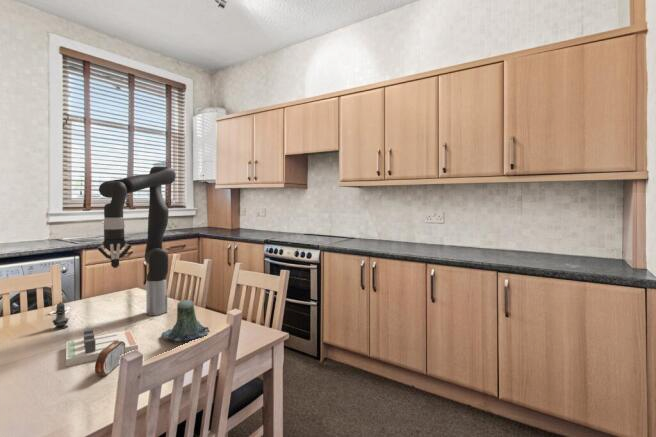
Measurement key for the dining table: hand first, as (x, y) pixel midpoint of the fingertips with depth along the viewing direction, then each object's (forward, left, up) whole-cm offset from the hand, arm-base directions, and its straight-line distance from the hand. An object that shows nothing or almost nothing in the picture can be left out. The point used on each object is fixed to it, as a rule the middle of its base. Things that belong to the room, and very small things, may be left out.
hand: (115, 267), depth 150 cm
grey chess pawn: (+19, -18, -29) cm, 39 cm away
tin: (+5, +37, -29) cm, 47 cm away
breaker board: (+6, +18, -29) cm, 34 cm away
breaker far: (+10, +12, -26) cm, 30 cm away
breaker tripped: (+10, +18, -26) cm, 33 cm away
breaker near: (+10, +24, -26) cm, 36 cm away
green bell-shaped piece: (-24, +22, -29) cm, 43 cm away
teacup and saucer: (+17, -43, -29) cm, 55 cm away
